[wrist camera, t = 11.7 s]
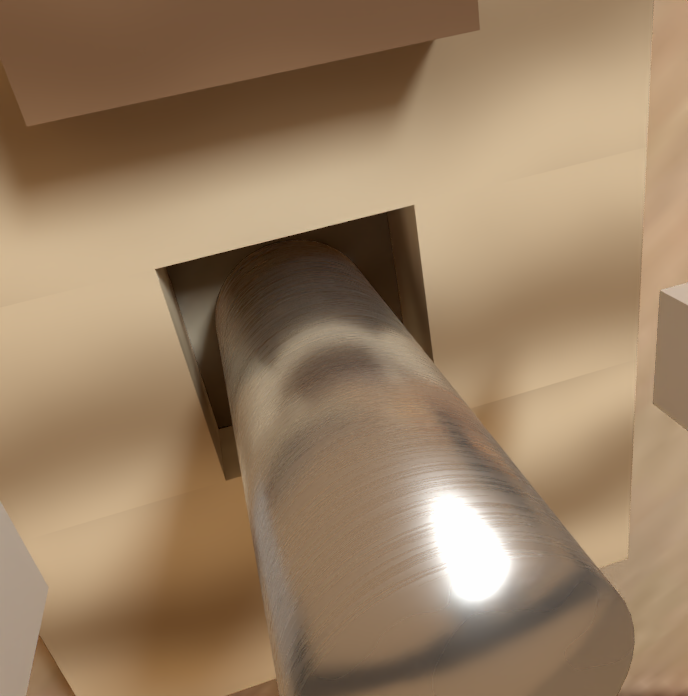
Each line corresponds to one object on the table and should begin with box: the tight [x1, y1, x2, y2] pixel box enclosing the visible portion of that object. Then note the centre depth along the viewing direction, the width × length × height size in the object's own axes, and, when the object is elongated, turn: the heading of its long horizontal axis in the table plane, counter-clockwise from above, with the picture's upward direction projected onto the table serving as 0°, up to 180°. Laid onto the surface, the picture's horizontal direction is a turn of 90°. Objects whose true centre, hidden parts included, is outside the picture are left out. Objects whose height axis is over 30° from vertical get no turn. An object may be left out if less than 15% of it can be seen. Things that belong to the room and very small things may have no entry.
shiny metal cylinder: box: [215, 240, 634, 696], centre depth 13 cm, size 4×4×12 cm
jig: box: [0, 0, 654, 696], centre depth 16 cm, size 22×18×4 cm
